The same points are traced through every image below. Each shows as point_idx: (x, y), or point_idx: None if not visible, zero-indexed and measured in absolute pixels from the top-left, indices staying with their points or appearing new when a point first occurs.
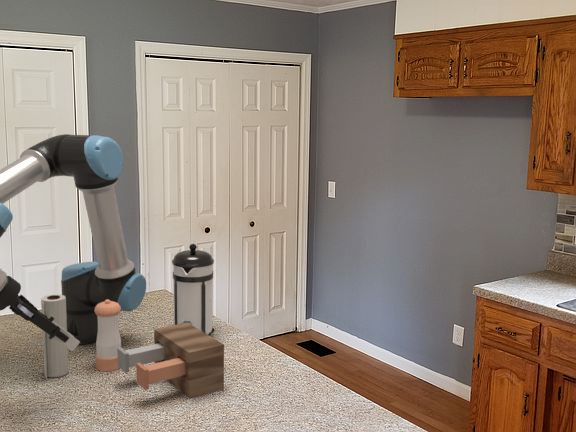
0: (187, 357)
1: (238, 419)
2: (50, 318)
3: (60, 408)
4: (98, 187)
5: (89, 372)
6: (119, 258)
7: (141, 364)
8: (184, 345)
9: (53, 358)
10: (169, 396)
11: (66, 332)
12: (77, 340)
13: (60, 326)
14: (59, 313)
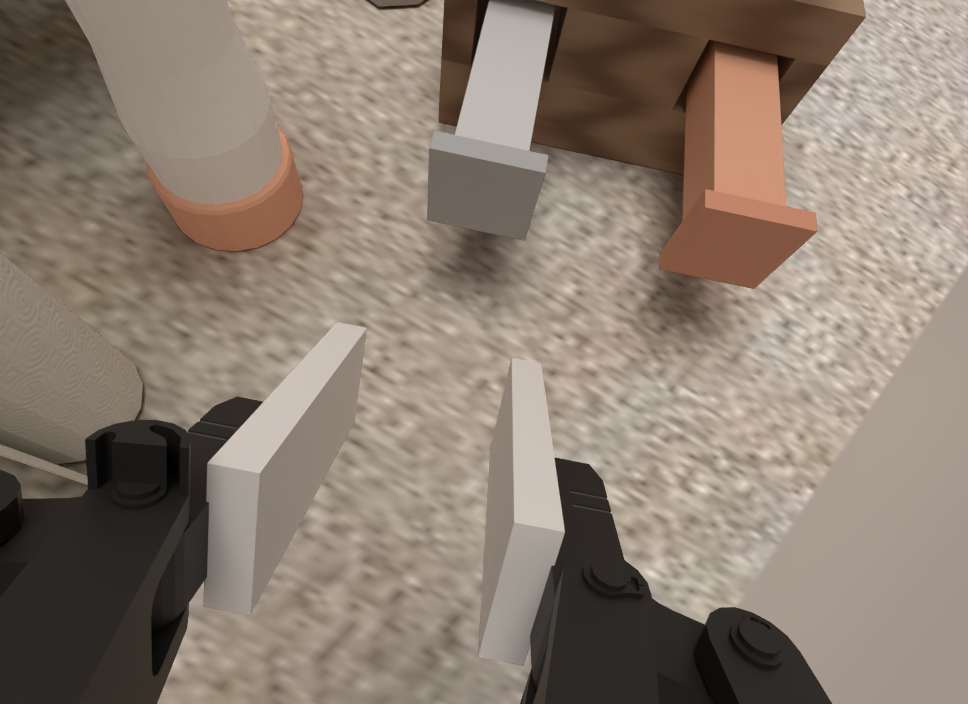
0: (828, 42)
1: (951, 184)
2: (116, 474)
3: (478, 601)
4: None
5: (219, 289)
6: None
7: (735, 199)
8: None
9: (53, 407)
10: (677, 216)
11: (553, 459)
12: (542, 379)
13: (276, 396)
14: None
